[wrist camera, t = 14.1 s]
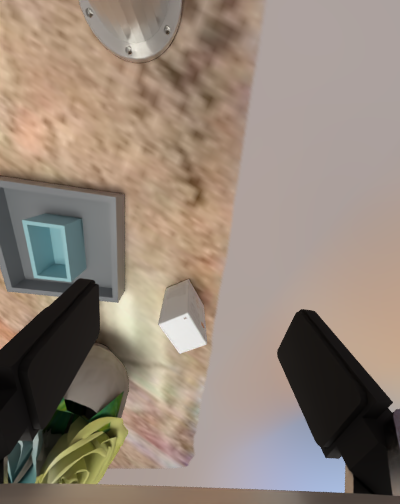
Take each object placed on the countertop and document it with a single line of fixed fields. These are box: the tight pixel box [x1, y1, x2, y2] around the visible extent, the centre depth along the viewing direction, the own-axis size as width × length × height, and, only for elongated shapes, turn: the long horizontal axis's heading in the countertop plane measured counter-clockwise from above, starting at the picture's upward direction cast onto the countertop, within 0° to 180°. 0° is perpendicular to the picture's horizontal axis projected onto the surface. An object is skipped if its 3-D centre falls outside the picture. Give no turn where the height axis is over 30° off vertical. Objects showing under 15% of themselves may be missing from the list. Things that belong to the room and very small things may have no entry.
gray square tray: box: [0, 176, 125, 303], centre depth 34 cm, size 20×20×4 cm
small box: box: [158, 279, 207, 354], centre depth 37 cm, size 8×6×10 cm
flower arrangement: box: [8, 343, 129, 484], centre depth 36 cm, size 25×25×24 cm
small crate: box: [22, 213, 86, 282], centre depth 33 cm, size 10×6×5 cm, turn 171°
